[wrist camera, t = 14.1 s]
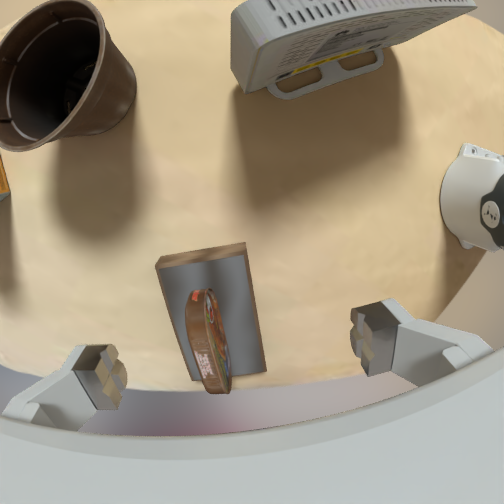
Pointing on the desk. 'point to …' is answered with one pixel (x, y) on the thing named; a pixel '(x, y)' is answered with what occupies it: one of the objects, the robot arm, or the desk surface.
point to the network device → (324, 36)
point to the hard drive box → (3, 183)
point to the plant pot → (60, 76)
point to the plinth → (228, 297)
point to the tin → (208, 341)
